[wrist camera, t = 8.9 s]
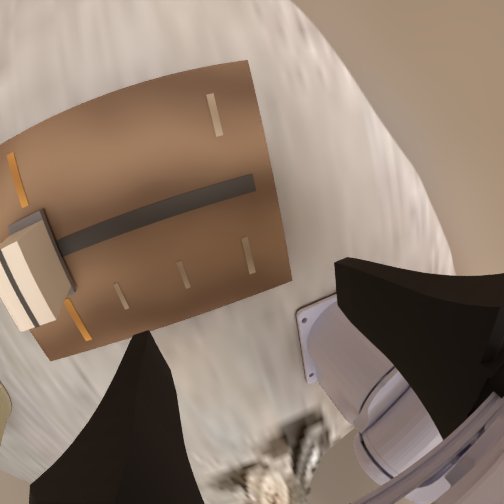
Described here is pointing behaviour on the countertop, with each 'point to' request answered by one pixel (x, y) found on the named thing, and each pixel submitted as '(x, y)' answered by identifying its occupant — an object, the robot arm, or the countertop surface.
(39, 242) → the fader
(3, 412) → the can
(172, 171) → the board
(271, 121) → the countertop surface
